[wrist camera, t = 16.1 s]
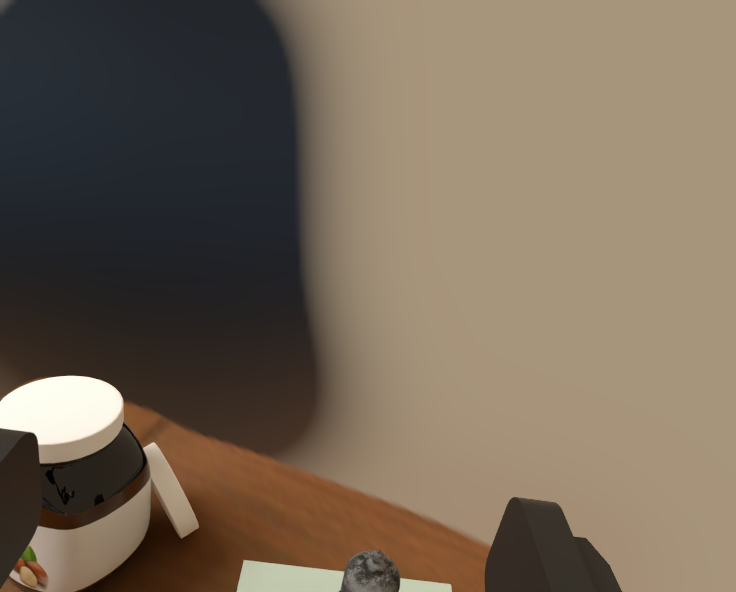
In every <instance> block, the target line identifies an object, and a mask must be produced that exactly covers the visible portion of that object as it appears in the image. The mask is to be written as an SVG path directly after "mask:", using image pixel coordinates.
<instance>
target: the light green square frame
mask: <svg viewBox="0 0 736 592" xmlns="http://www.w3.org/2000/svg"><path fill="white" fill-rule="evenodd" d="M343 576H344V572H342V571H333V570H325V569H316V568H307V567H299V566H290V565H282V564H273V563H265V562H256V561H248V560H244V562H243V566H242V570H241V575H240V579H239V583H238V588H237V592H339V591H340V590H341V585H342V580H343ZM399 592H452V589H451V584H444V583H435V582H427V581H418V580H410V579H401V578H400V589H399Z"/></svg>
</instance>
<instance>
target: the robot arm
mask: <svg viewBox="0 0 736 592" xmlns="http://www.w3.org/2000/svg"><path fill="white" fill-rule="evenodd" d="M42 504H43V502H42V487H41V474H40V461H39V448H38V440H37V437H36V435H35V434H34V433H32V432H25V431H18V430H10V429H3V428H0V589H1V587H2V586H3V584H4V583H5V581H6V579H7V578H8V576H9V575H10V573H11V572H12V570H13V569H14V567H15V565H16V564H17V562H18V561H19V559H20V558H21V556H22V554H23V553H24V551H25V550H26V548H27V547H28V545H29V544H30V542H31V540H32V538H33V536H34V534H35V532H36V529H37V527H38V524H39V520H40V517H41V512H42ZM485 592H622V591H621V589H620V587H619V585H618V582H617V580H616V578H615V576H614V574H613V572H612V570H611V567H610V565H609V564H608V563H607V562H606V561H605V560H604V558H603V557H602V556H601V555H600V554H599V553H598V551H597V550H596V549H595V548H594V547H593V546H592V544H591V543H590V542H589V541H588V540H587V539H586V538H580V537H573V535H572V532H571V530H570V528H569V525H568V523H567V520H566V518H565V516H564V513H563V511H562V509H561V507H560V506H559V505H558V504H557V503H555V502H548V501H540V500H533V499H525V498H517V497H513V498H512V499H511V500H510V501H509V503H508V505H507V507H506V510H505V513H504V515H503V518H502V520H501V523H500V526H499V528H498V531H497V533H496V536H495V539H494V541H493V544H492V547H491V549H490V552H489V555H488V558H487V562H486V567H485Z"/></svg>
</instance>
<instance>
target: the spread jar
mask: <svg viewBox="0 0 736 592" xmlns="http://www.w3.org/2000/svg"><path fill="white" fill-rule="evenodd" d="M0 428H3V429H10V430H18V431H25V432H32V433H34V434H35V435H36V437H37V440H38V448H39V461H40V474H41V487H42V502H43V504H42V512H41V517H40V520H39V524H38V527H37V529H36V532H35V534H34V536H33V538H32V540H31V542H30V544H29V545H28V547H27V548H26V550H25V551H24V553H23V554H22V556H21V558H20V559H19V561H18V562H17V564H16V565H15V567H14V569H13V570H12V572H11V573H10V575H9V576H8V579H9V580H10V581H11V582H12V583H14V584H15V585H16V586H18V587H19V588H21V589H23V590H25V591H27V592H81V591H84V590H86V589H88V588H90V587H92V586H94V585H95V584H97V583H99V582H100V581H102V580H103V579H105V578H106V577H108V576H109V575H110V574H112V573H113V572H114V571H115V570H117V569H118V568H119V567H120V566H121V565H122V564H123V563H124V562H125V561H126V560H127V559H128V558H129V557H130V556H131V555H132V553H133V552H134V551H135V550H136V548H137V547H138V546H139V544H140V543H141V542H142V540H143V538H144V537H145V534H146V531H147V529H148V526H149V520H150V509H151V486H152V488H153V490H154V492H155V494H156V496H157V497H158V499H159V501H160V503H161V505H162V507H163V509H164V511H165V512H166V514H167V516H168V518H169V520H170V522H171V523H172V525H173V527H174V529H175V530H176V532H177V534H178V535H179V537H180V538H181V539H182V538H183V537H185V536H187V535H188V534H190V533H191V532H193V531H194V530H196V529H197V528H199V525H198V522H197V519H196V517H195V514H194V512H193V510H192V508H191V506H190V504H189V502H188V500H187V497H186V496H185V494H184V492H183V490H182V488H181V486H180V484H179V482H178V480H177V478H176V476H175V475H174V473H173V471H172V469H171V467H170V466H169V464H168V462H167V460H166V459H165V457H164V455H163V454H162V452H161V451H160V449H159V448H158V446H157V445H156V444H155V443H154V442H153V443H151V444H150V445H148V446H146V447H144V448H143V447H142V446H141V444H140V442H139V440H138V439H137V438H136V436H135V435H134V433H133V432H132V431H131V429H130V428H129V427H128V426H127V425H126V424H125V423H124V421H123V398H122V396H121V394H120V393H119V391H118V390H117V389H116V388H114V387H113V386H111V385H109V384H108V383H106V382H104V381H101V380H98V379H94V378H90V377H81V376H61V377H53V378H47V379H42V380H39V381H35V382H32V383H29V384H27V385H24V386H22V387H20V388H18V389H16V390H14V391H12V392H11V393H10V394H8V395H7V396H6V397H4V398H3V399H2V400H1V402H0Z"/></svg>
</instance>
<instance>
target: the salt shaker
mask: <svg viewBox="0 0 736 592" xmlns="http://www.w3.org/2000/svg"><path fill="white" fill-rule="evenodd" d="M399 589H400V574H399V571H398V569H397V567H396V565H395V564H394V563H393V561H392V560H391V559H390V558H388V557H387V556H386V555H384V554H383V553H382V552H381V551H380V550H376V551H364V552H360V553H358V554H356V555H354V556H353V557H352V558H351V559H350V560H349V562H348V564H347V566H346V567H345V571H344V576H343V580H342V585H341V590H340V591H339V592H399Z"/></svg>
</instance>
